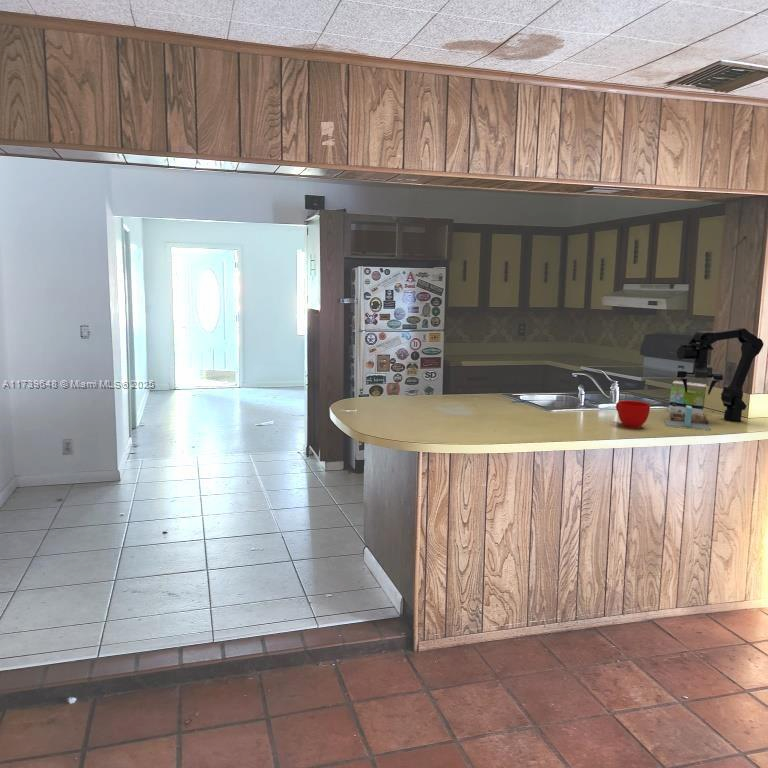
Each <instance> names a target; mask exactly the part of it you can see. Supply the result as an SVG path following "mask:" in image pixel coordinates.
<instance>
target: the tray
mask: <svg viewBox="0 0 768 768" xmlns="http://www.w3.org/2000/svg"><path fill="white" fill-rule="evenodd" d="M693 416H694V415H693V414H692V417H691V423H696V424H705V425H709V420H708V418H707V417H706V416H705V415H703V416H704V417H703V419H704V420H695V419H692V418H693ZM669 418H670V421H676V422H684V419H685V413H677V412H669Z"/></svg>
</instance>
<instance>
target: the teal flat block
mask: <svg viewBox="0 0 768 768" xmlns="http://www.w3.org/2000/svg"><path fill="white" fill-rule="evenodd" d="M684 414H685V419H684V424H685V426H688V427H690V425H691V417H692V415H693V414H692V407H691V406H688V405H686V410H685V413H684Z"/></svg>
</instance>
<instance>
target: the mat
mask: <svg viewBox="0 0 768 768" xmlns="http://www.w3.org/2000/svg"><path fill="white" fill-rule="evenodd" d="M663 422H664V426H667V428H670V427H674V428H677V429H680V428H686V430H689V429H695V430H696V431H699V430H705V431H704V432H706V431H707V432H708V431H711V430H712V428H711V427H710V425H709V424H698V423H691V425H690V427H688V426H685V424H684V422H679V421H671V420H663Z"/></svg>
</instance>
